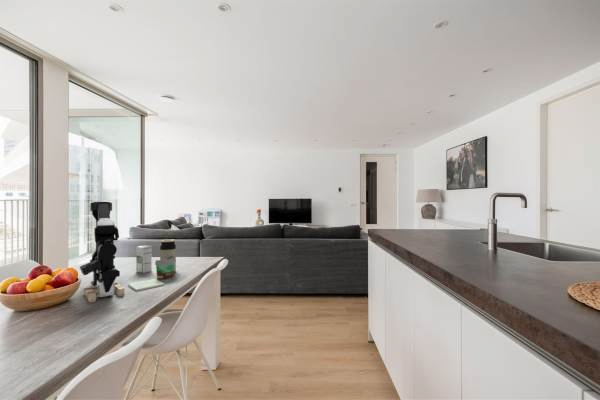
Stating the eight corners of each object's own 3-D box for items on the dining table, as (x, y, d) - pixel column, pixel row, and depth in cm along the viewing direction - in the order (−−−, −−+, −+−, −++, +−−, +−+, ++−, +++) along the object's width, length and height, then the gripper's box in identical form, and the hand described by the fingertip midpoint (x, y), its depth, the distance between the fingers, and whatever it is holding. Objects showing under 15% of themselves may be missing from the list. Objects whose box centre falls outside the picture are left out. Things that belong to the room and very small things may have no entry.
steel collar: (96, 294, 117) (96, 280, 117) (110, 291, 121) (110, 277, 121) (99, 297, 113) (99, 282, 113) (113, 294, 117) (114, 280, 117)
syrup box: (152, 270, 159) (152, 245, 159) (142, 273, 154) (142, 247, 154) (145, 269, 162) (145, 244, 162) (135, 272, 156) (135, 246, 156)
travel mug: (160, 274, 151) (160, 241, 151) (160, 271, 158) (160, 239, 159) (176, 272, 155) (176, 240, 155) (175, 269, 162) (175, 238, 162)
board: (128, 285, 132) (128, 283, 132) (155, 280, 141) (155, 278, 141) (136, 291, 124) (136, 289, 124) (164, 285, 132) (164, 283, 132)
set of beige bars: (83, 294, 119) (83, 285, 119) (116, 288, 128) (116, 279, 128) (89, 302, 110) (89, 292, 110) (124, 295, 119) (124, 285, 119)
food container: (165, 280, 140) (165, 261, 140) (155, 280, 141) (155, 260, 141) (180, 274, 152) (180, 256, 152) (170, 273, 153) (171, 255, 153)
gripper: (77, 253, 118) (77, 290, 118) (86, 260, 105) (85, 301, 105) (108, 250, 126) (108, 284, 126) (120, 255, 113) (120, 294, 113)
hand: (105, 290), depth 117 cm, fingers closed on steel collar, 5 cm apart
